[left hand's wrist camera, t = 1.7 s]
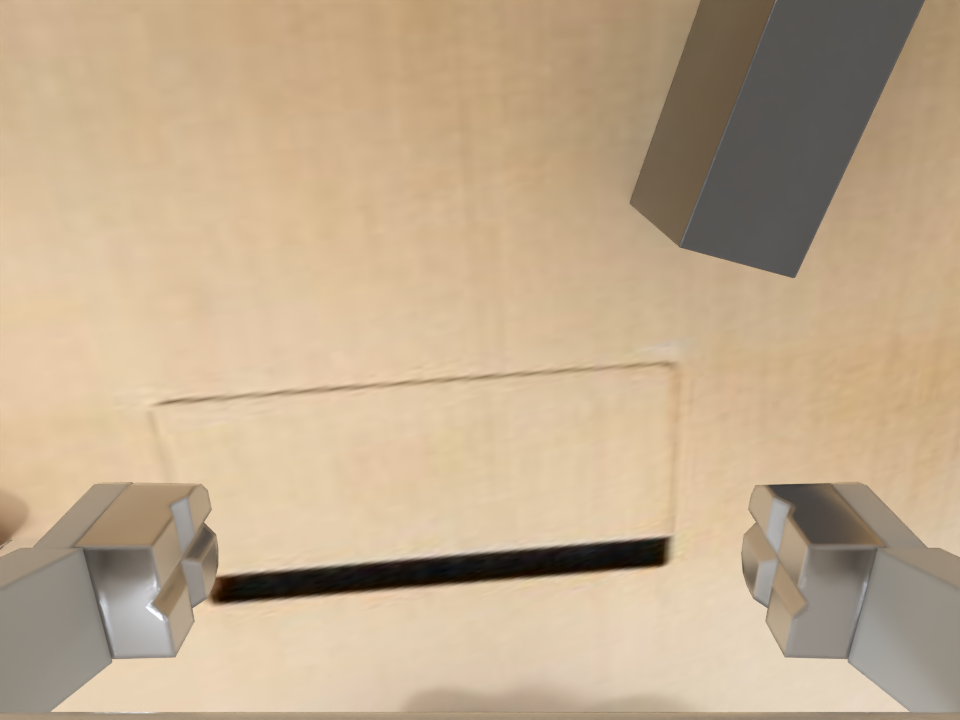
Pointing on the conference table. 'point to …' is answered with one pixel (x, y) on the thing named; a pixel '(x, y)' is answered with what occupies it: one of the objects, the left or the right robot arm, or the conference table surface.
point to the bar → (766, 123)
